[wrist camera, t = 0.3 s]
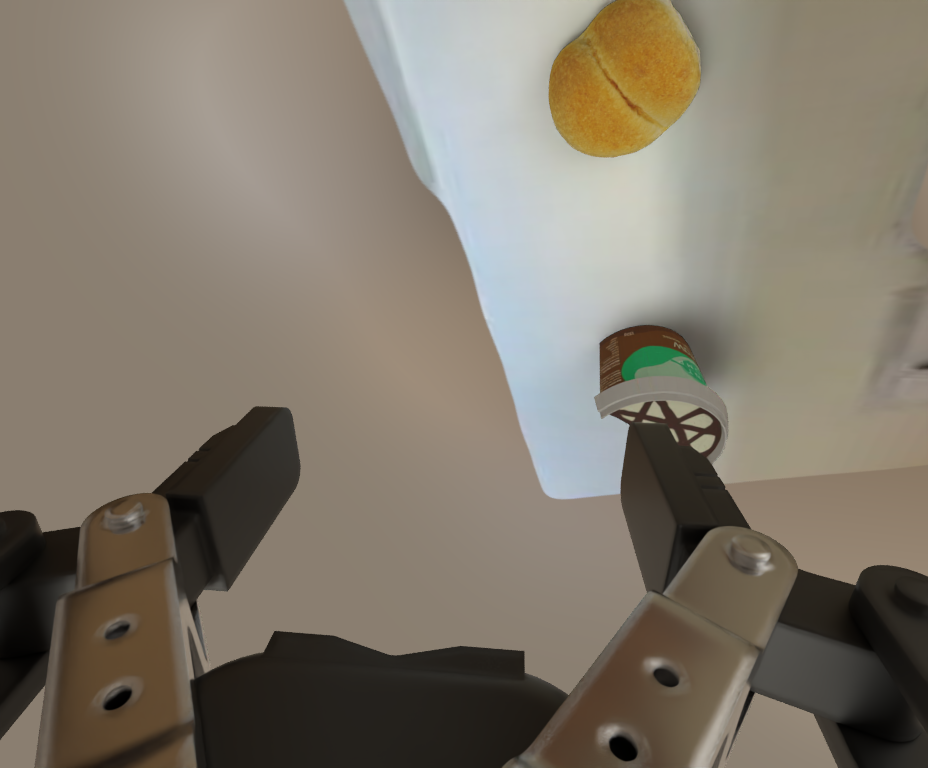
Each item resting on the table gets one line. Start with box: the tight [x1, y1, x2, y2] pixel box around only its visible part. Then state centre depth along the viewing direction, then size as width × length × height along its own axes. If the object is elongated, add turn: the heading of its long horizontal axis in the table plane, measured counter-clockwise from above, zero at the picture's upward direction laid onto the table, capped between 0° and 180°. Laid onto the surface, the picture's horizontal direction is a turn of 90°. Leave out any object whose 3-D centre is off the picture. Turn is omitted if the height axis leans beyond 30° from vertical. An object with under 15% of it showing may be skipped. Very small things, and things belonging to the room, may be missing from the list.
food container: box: [594, 325, 728, 464], centre depth 44 cm, size 12×6×10 cm, turn 58°
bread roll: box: [549, 0, 701, 157], centre depth 32 cm, size 8×9×4 cm
